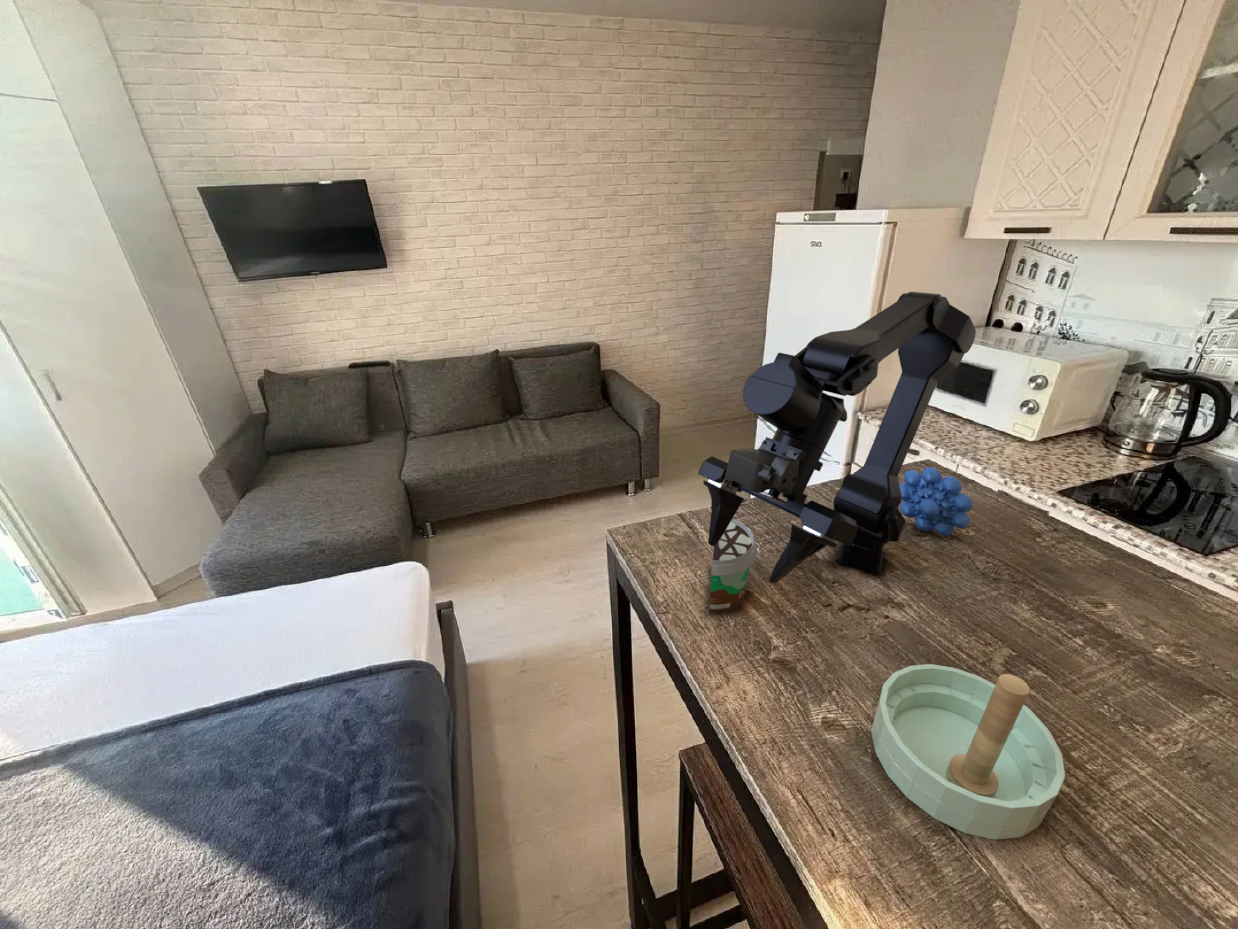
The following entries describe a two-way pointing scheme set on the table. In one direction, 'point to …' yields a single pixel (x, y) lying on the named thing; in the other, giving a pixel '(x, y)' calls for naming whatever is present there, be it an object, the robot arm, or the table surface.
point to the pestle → (989, 738)
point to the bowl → (963, 752)
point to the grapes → (934, 501)
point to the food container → (731, 567)
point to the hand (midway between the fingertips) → (739, 563)
